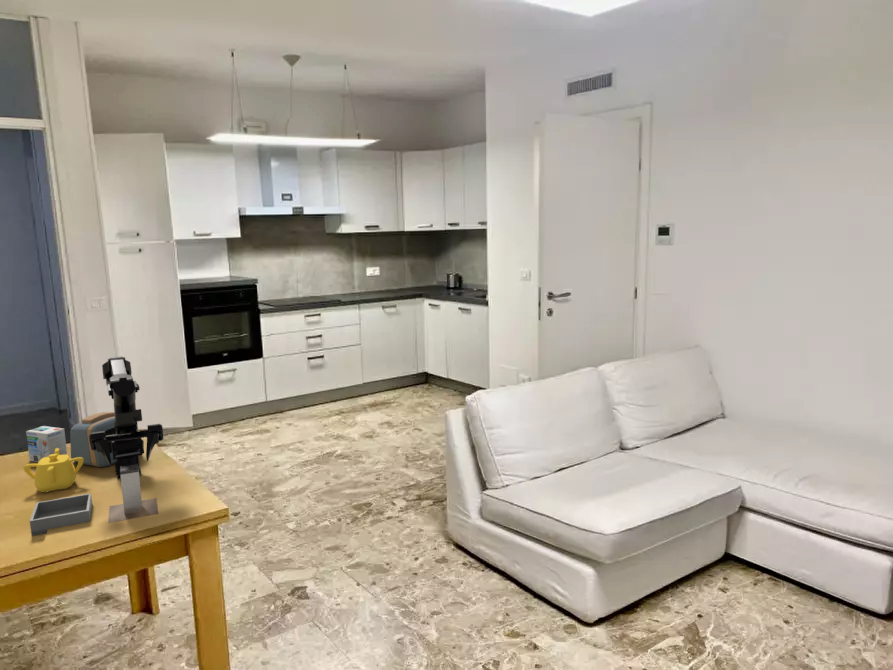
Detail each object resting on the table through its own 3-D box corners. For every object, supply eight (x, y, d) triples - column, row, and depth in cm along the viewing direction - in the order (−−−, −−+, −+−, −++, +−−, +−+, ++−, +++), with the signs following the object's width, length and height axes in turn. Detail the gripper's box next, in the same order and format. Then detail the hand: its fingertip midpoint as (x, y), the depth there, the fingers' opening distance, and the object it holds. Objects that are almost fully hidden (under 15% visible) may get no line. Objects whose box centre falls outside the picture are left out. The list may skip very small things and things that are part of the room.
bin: (92, 506, 184) (91, 493, 183) (90, 525, 172) (88, 510, 171) (38, 516, 178) (36, 502, 178) (31, 535, 166) (29, 521, 166)
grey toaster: (101, 469, 214) (96, 422, 211) (68, 463, 221) (63, 417, 218) (143, 454, 228) (139, 410, 226) (111, 448, 235) (107, 405, 233)
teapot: (20, 491, 197) (16, 458, 195) (61, 476, 209) (57, 445, 207) (50, 497, 191) (46, 464, 190) (90, 482, 203) (86, 450, 201)
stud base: (156, 501, 187) (155, 487, 186) (158, 517, 176) (157, 502, 175) (109, 509, 182) (108, 496, 181) (108, 526, 171) (107, 512, 170)
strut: (142, 505, 182) (138, 464, 180) (142, 511, 178) (138, 469, 176) (124, 508, 180) (120, 466, 178) (124, 514, 176) (120, 471, 174)
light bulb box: (28, 461, 224) (24, 430, 222) (47, 454, 230) (43, 425, 228) (50, 464, 220) (46, 433, 218) (68, 458, 226) (65, 428, 224)
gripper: (86, 405, 181) (88, 455, 172) (159, 396, 189) (164, 443, 180) (90, 425, 189) (92, 474, 181) (160, 416, 197) (165, 462, 189)
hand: (129, 463), depth 182 cm, fingers open, 9 cm apart
